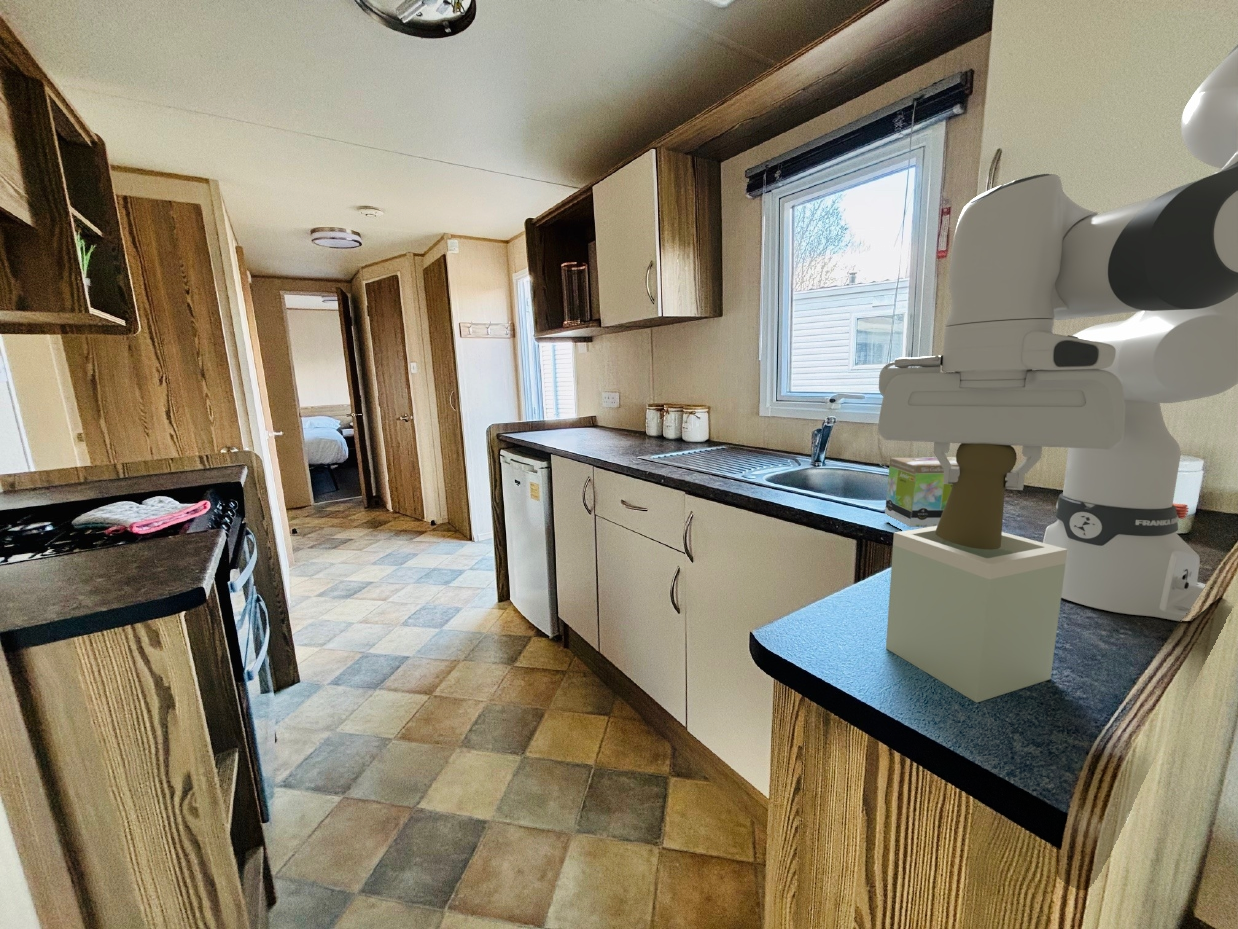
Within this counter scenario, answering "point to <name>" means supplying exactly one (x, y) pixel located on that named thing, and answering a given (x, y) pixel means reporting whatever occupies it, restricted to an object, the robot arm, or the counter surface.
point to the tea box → (917, 490)
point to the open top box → (975, 610)
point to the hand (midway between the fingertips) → (981, 486)
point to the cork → (977, 496)
